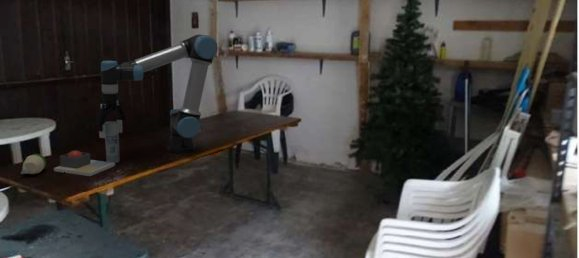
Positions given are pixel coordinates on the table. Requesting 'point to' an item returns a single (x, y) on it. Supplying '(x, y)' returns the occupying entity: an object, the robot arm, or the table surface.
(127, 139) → the table surface
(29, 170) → the cartoon head
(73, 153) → the red dome
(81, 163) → the tray with gray block
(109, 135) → the spray paint can
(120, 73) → the robot arm
